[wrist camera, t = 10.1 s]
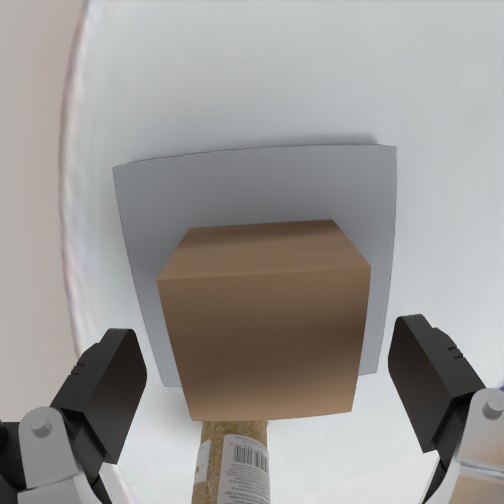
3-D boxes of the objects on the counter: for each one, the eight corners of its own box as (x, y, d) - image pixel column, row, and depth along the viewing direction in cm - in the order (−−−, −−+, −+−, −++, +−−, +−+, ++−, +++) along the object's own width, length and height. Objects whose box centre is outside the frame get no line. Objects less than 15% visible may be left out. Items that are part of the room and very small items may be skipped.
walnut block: (189, 228, 13) (156, 279, 9) (332, 219, 13) (371, 266, 9) (207, 344, 16) (192, 420, 11) (328, 337, 15) (351, 411, 11)
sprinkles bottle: (189, 408, 20) (156, 589, 7) (244, 385, 19) (236, 594, 7) (229, 440, 21) (218, 601, 9) (281, 421, 20) (292, 599, 8)
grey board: (129, 163, 14) (112, 167, 12) (379, 144, 14) (396, 146, 12) (170, 364, 19) (163, 386, 17) (366, 351, 18) (376, 372, 16)
